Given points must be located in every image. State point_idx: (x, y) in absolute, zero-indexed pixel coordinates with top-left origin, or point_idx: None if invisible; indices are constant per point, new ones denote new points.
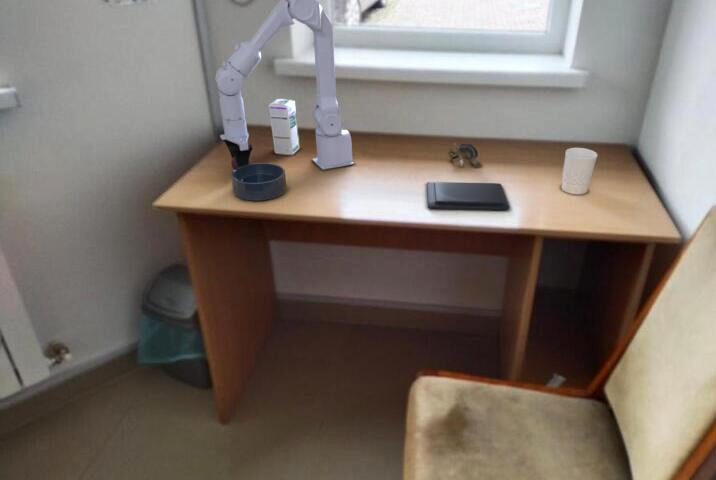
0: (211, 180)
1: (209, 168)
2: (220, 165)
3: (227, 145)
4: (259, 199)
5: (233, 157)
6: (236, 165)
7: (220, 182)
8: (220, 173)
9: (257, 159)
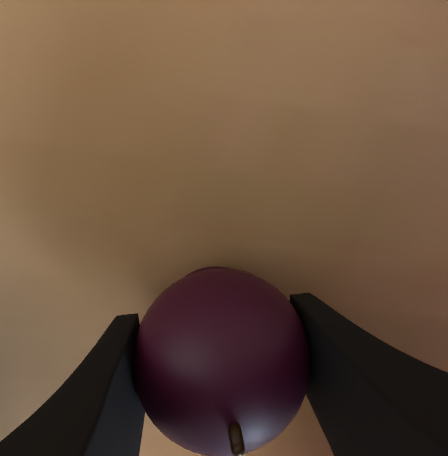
0: (117, 26)
1: (425, 61)
2: (438, 168)
3: (405, 418)
4: None
5: (254, 351)
6: (147, 327)
7: (40, 107)
8: (262, 141)
9: None
